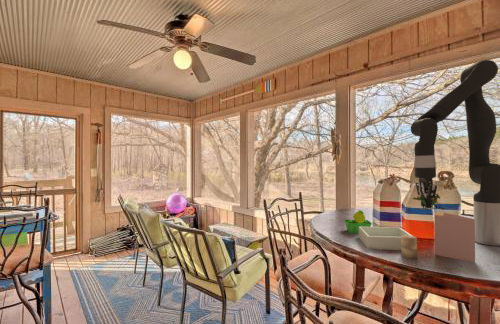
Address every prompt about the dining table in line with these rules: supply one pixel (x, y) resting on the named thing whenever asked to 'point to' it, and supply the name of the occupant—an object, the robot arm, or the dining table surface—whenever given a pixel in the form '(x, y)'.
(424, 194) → the green branched piece
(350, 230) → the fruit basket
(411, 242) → the maple cylinder
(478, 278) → the dining table surface
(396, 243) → the tray
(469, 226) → the greeting card
